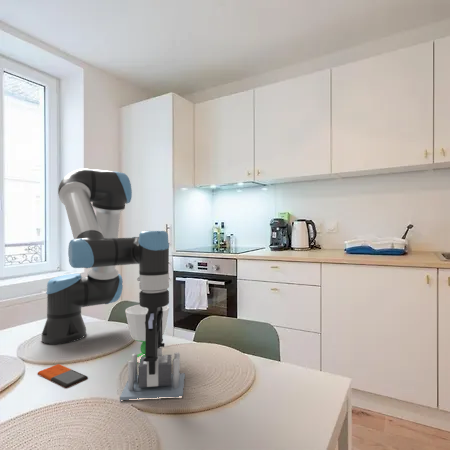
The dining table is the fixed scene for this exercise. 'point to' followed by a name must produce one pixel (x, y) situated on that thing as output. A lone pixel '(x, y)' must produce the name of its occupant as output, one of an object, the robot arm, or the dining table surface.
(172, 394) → the grey fixture stand
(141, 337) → the cup
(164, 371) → the grey block
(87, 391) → the dining table surface
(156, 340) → the robot arm
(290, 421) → the dining table surface
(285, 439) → the dining table surface
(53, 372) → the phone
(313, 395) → the dining table surface
